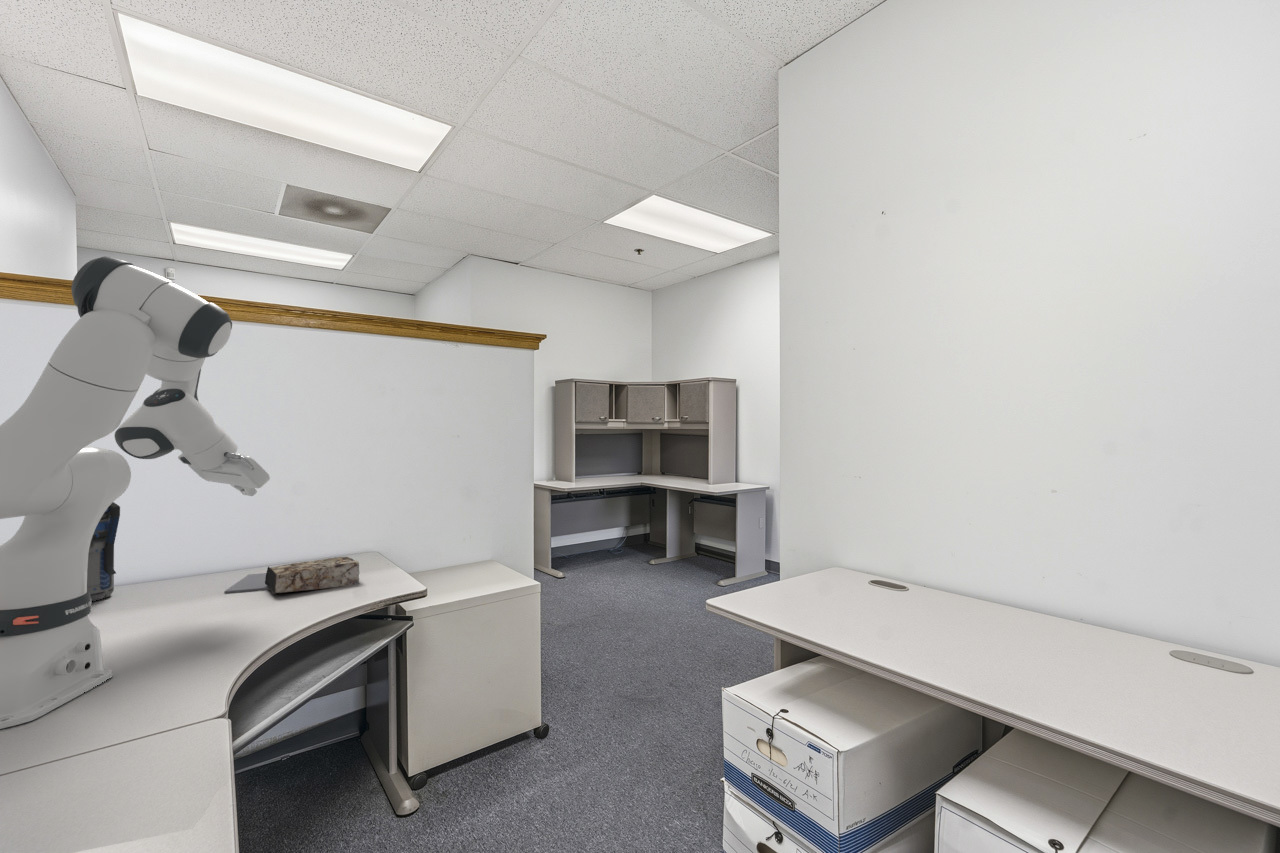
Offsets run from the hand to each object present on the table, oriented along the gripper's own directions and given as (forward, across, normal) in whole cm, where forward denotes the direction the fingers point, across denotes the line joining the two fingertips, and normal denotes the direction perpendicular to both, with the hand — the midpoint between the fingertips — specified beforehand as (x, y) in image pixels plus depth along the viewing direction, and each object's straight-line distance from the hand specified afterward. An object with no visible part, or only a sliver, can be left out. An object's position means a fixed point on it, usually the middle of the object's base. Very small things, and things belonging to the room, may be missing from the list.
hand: (250, 493), depth 133 cm
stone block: (+22, +2, +10) cm, 24 cm away
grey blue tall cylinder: (+14, +39, +29) cm, 50 cm away
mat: (+31, +12, +6) cm, 33 cm away
